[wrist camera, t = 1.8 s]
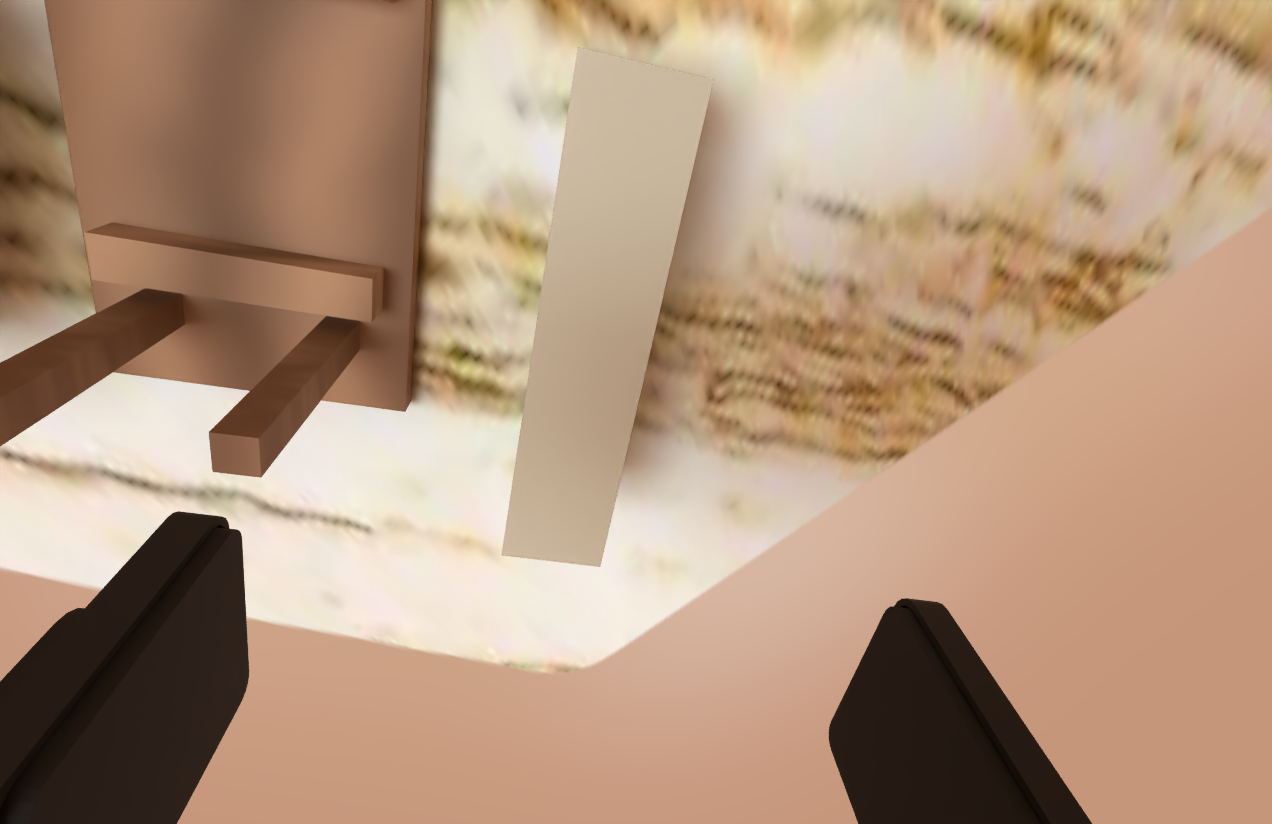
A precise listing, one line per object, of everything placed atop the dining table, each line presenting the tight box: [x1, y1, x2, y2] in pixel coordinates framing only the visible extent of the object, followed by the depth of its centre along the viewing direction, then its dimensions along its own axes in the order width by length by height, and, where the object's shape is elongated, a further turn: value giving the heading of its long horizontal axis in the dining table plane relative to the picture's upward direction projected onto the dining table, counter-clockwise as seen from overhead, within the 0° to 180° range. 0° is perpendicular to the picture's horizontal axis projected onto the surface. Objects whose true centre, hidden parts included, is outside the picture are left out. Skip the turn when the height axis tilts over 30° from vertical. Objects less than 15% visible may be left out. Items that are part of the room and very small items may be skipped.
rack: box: [0, 0, 432, 477], centre depth 19 cm, size 11×20×10 cm, turn 169°
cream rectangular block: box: [502, 47, 714, 567], centre depth 24 cm, size 16×4×7 cm, turn 168°
